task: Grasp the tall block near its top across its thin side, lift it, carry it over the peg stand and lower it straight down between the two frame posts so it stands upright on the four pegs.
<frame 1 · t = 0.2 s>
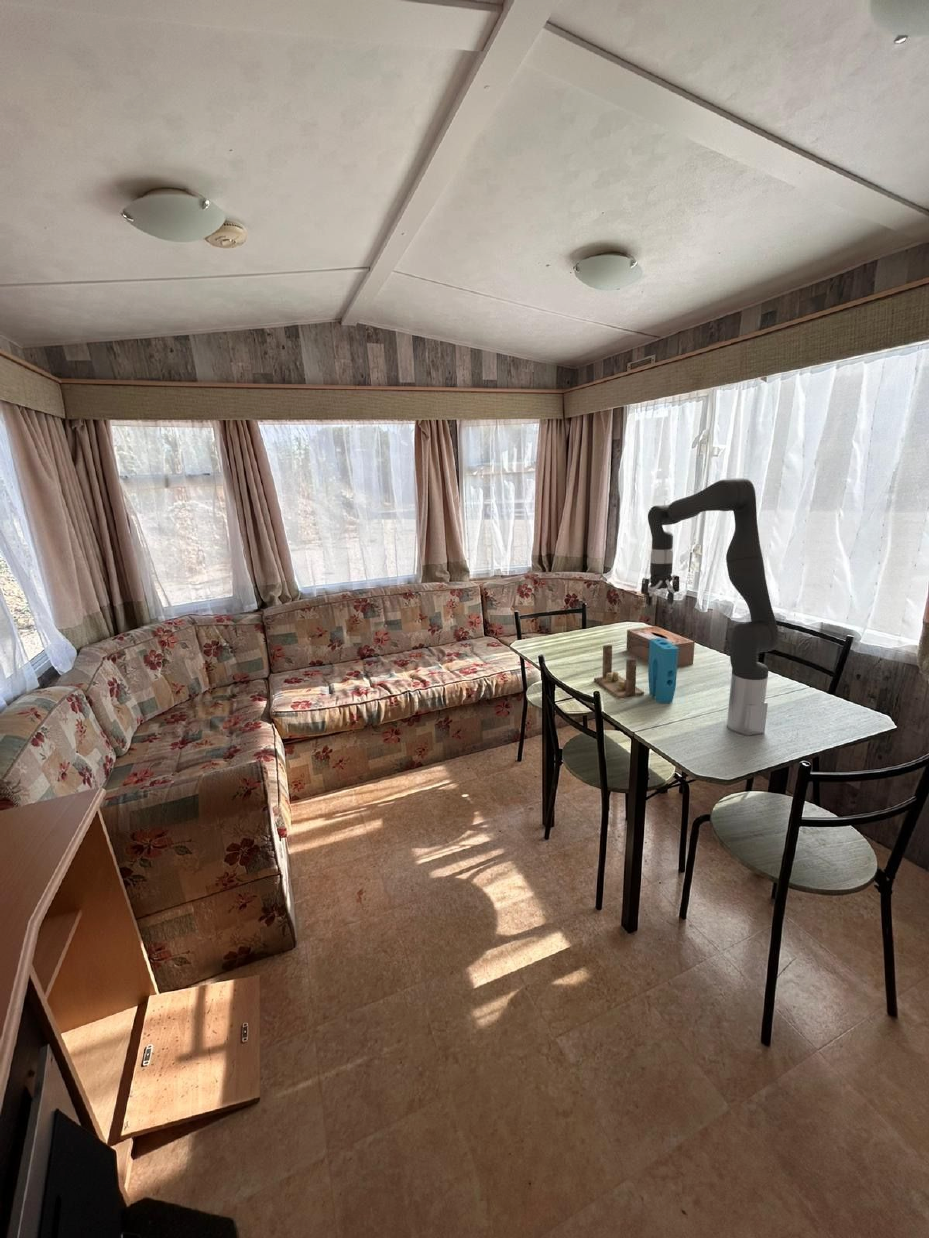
hand: (659, 604, 183), 29 cm above the table, fingers open, 8 cm apart
peg stand: (618, 687, 183), on the table
tissue box cover: (658, 658, 212), on the table
block: (660, 698, 172), on the table
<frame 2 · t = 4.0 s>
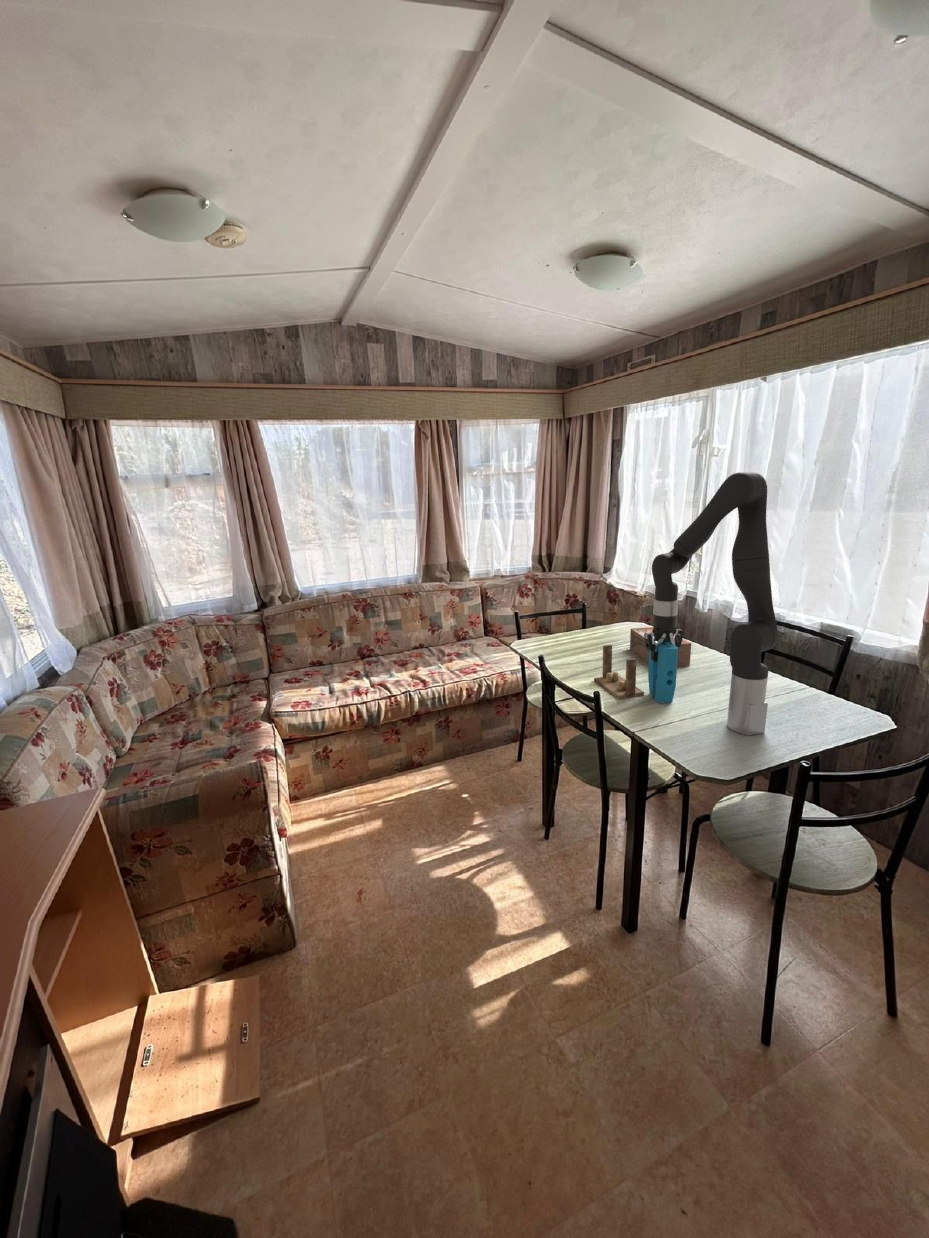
hand: (662, 660, 169), 14 cm above the table, fingers closed on block, 5 cm apart
block: (660, 698, 172), on the table, touching gripper
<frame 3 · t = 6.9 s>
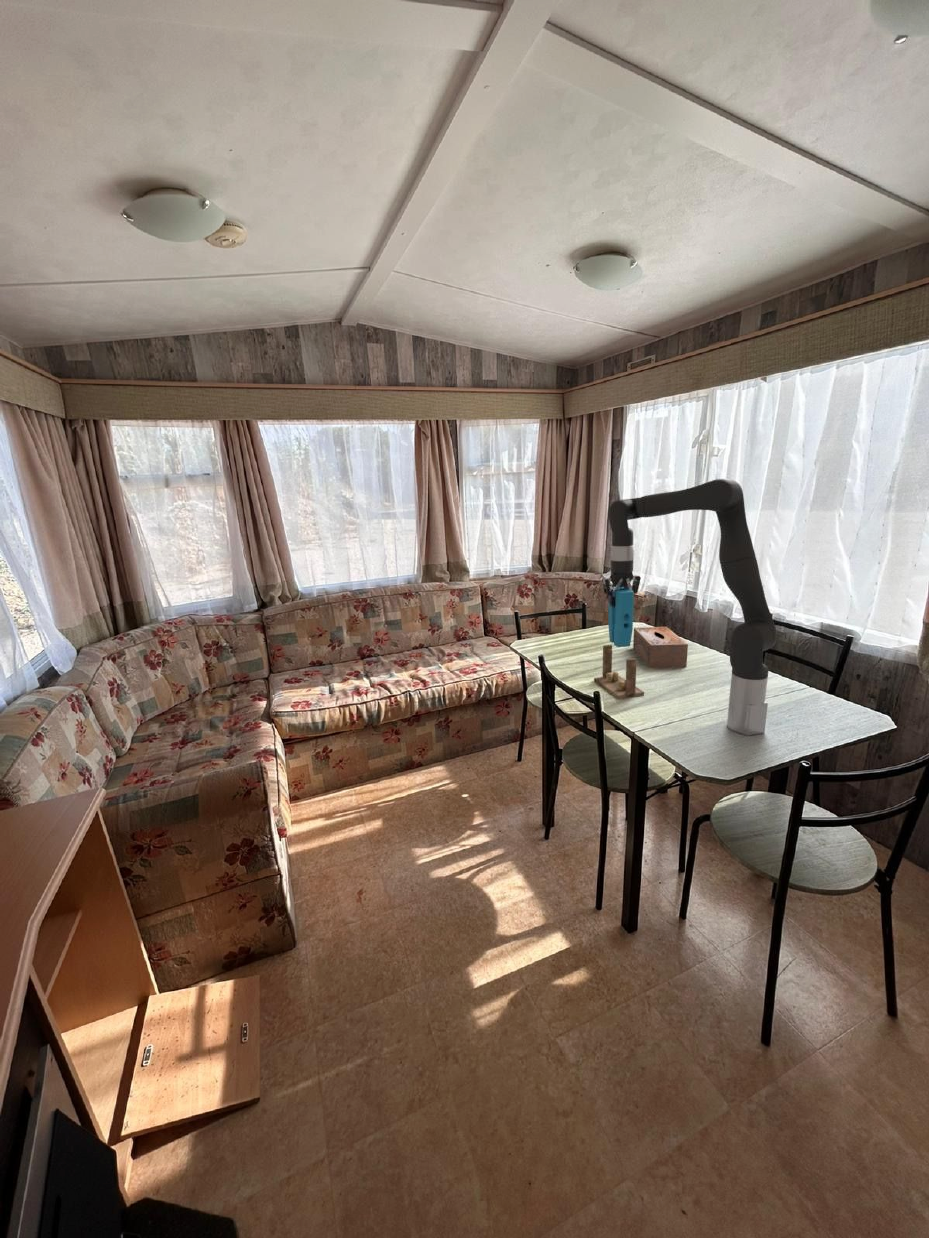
hand: (620, 605, 175), 31 cm above the table, fingers closed on block, 5 cm apart
block: (619, 643, 178), point 17 cm above the table, touching gripper
when the fingers open (19 cm above the table, at t = 10.0 s): block stays where it is, resting on peg stand.
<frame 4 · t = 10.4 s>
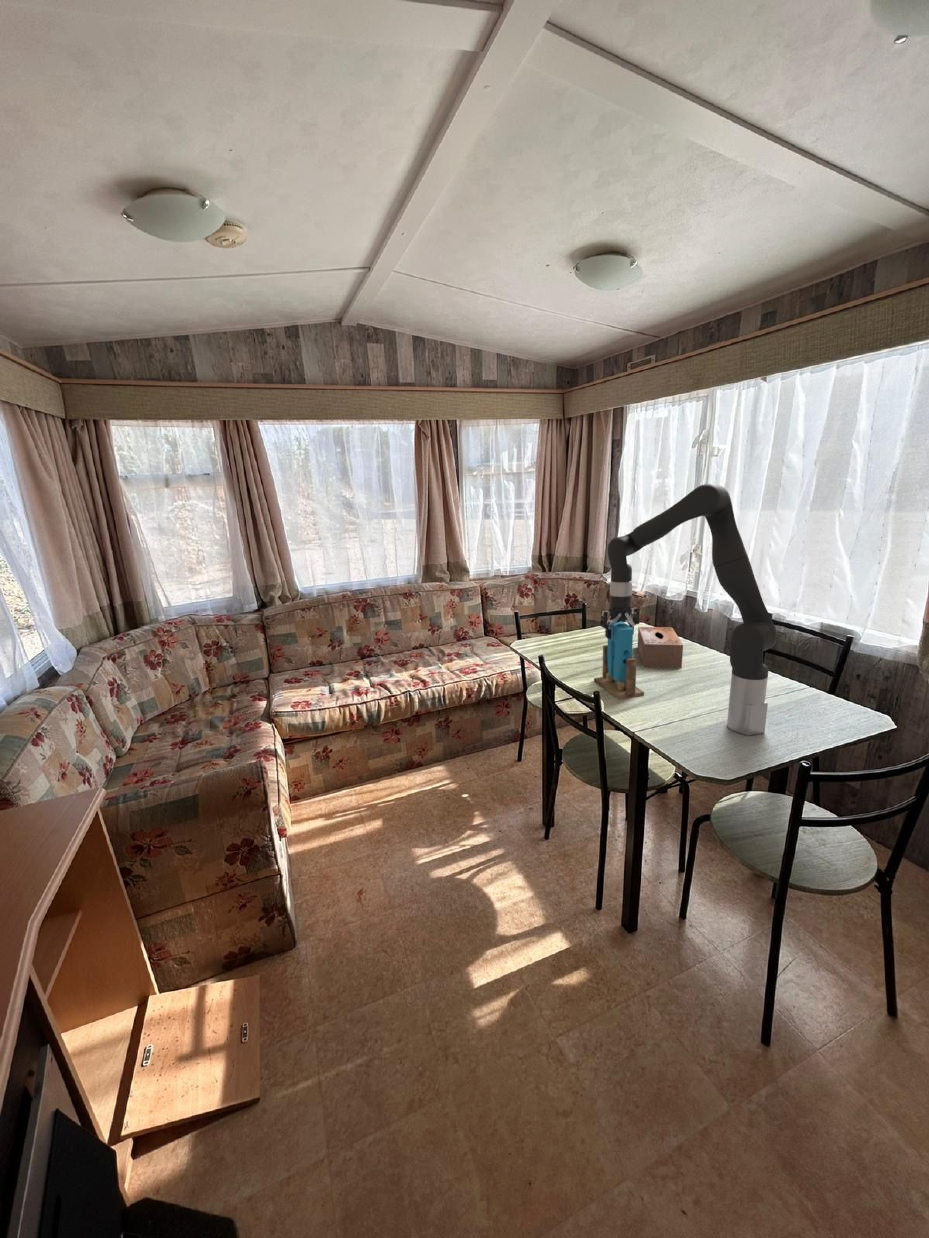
hand: (619, 637, 178), 20 cm above the table, fingers open, 8 cm apart
block: (618, 677, 182), point 4 cm above the table, touching peg stand
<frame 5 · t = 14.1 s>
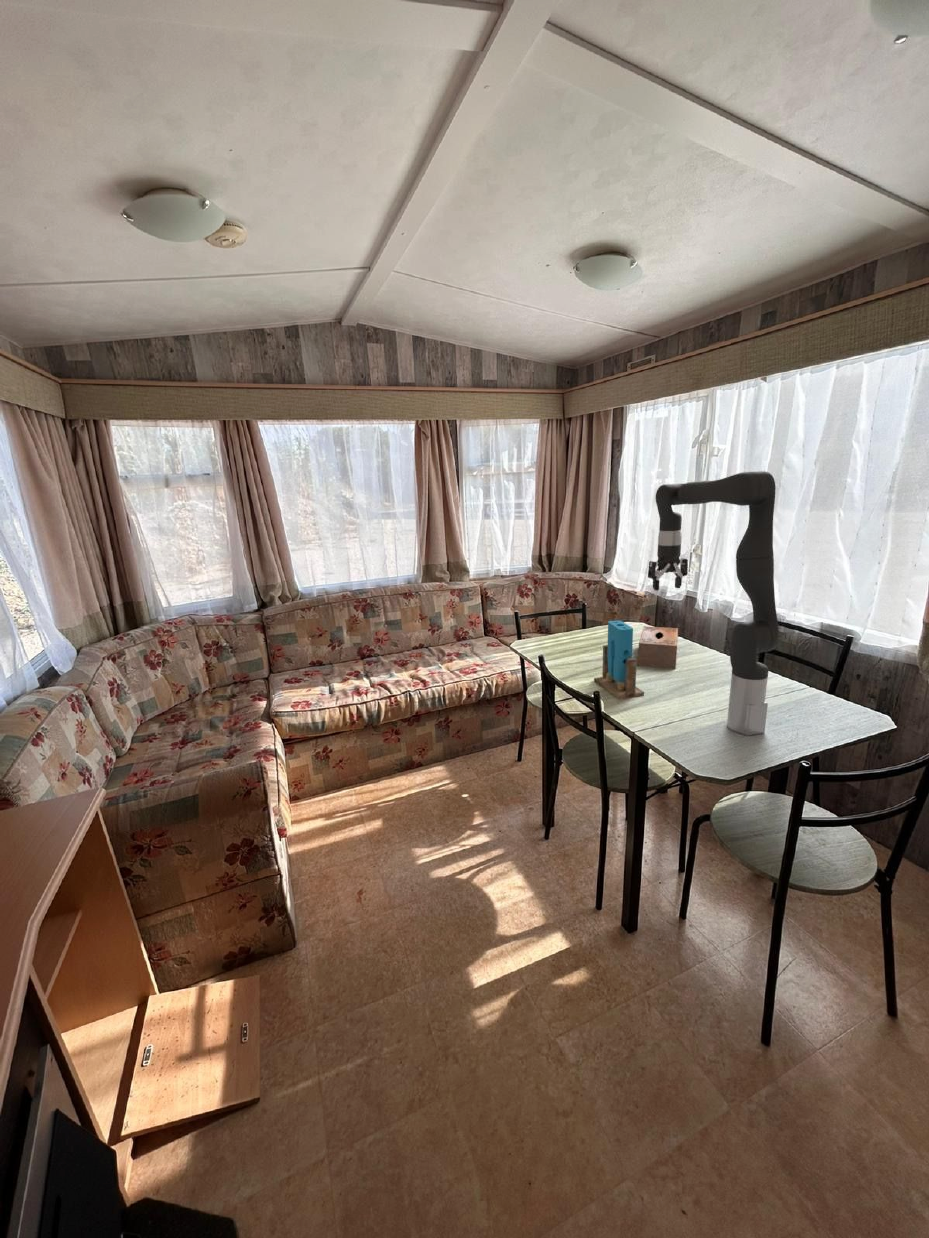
hand: (666, 589, 175), 36 cm above the table, fingers open, 8 cm apart
at the end: block 0.1 cm from the peg stand (horizontally); block tilted 0°; block touching peg stand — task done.
